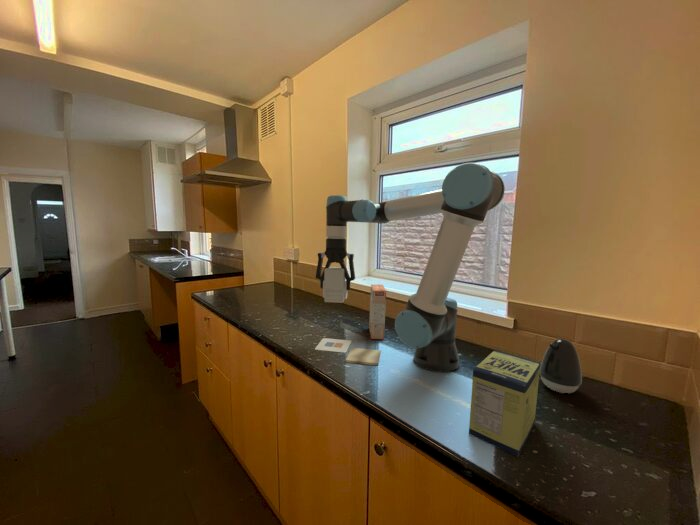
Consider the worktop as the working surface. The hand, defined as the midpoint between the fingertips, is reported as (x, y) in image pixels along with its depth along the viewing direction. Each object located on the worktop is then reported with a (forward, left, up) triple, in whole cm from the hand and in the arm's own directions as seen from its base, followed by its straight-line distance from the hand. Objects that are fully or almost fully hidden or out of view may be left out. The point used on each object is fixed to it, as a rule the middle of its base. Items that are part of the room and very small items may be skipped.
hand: (335, 297), depth 115 cm
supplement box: (0, 0, -1) cm, 1 cm away
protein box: (-50, +39, -19) cm, 66 cm away
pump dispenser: (-72, +16, -19) cm, 76 cm away
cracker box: (-15, -17, -19) cm, 30 cm away
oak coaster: (-13, +8, -19) cm, 24 cm away
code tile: (0, 0, -19) cm, 19 cm away
